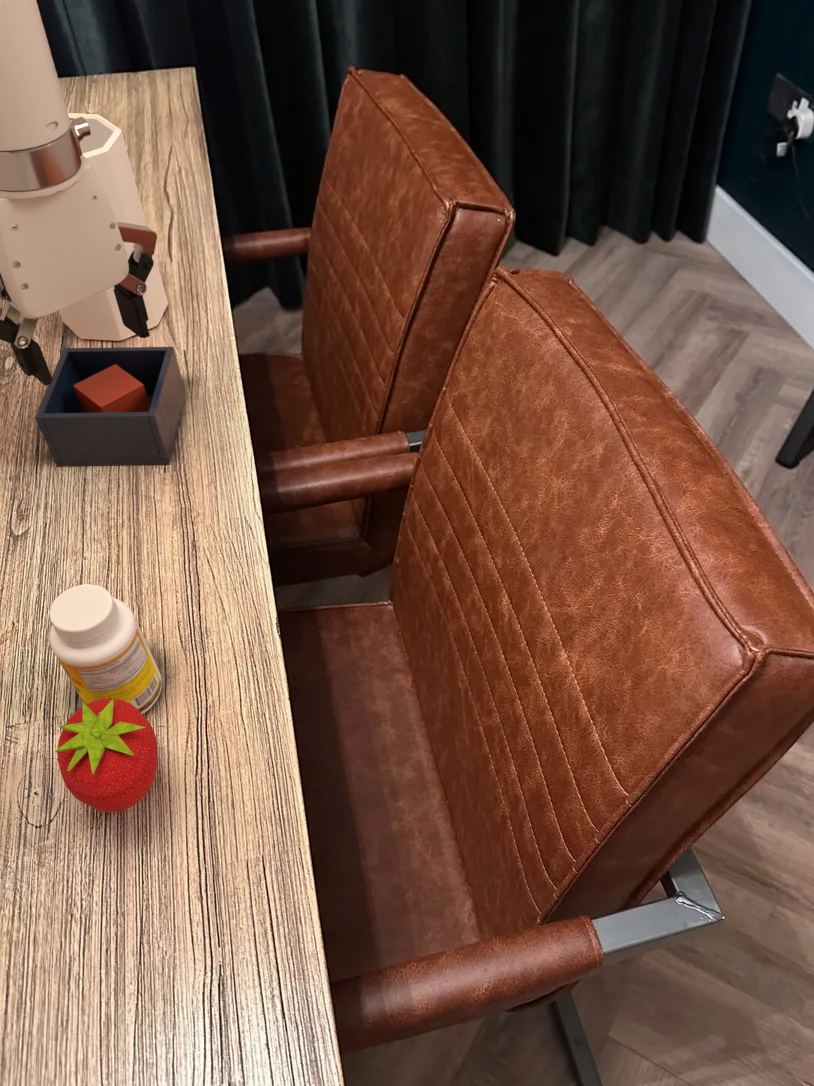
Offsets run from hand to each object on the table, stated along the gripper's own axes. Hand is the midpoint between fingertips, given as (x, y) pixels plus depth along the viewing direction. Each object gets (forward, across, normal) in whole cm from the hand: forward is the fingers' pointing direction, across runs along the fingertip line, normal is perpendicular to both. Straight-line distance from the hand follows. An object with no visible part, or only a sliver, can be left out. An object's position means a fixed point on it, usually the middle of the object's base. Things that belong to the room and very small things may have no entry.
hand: (90, 353), depth 76 cm
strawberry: (+7, +21, +34) cm, 40 cm away
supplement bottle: (+8, +17, +26) cm, 32 cm away
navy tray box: (+8, 0, +1) cm, 8 cm away
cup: (+9, -11, -16) cm, 21 cm away
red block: (+8, 0, +1) cm, 8 cm away
